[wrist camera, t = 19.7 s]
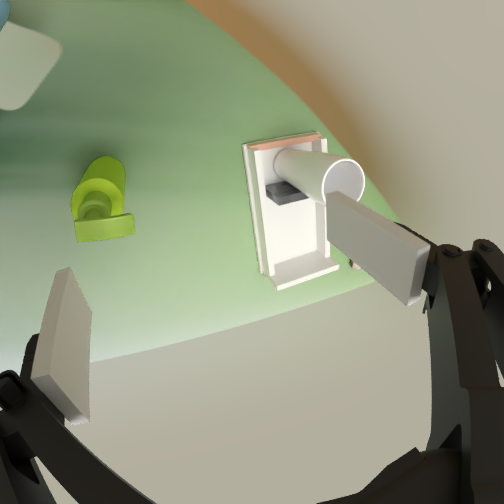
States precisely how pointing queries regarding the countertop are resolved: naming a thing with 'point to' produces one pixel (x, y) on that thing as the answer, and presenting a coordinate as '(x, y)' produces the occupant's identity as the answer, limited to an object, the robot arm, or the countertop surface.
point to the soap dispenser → (101, 202)
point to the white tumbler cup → (320, 173)
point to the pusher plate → (284, 193)
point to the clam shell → (355, 266)
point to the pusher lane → (286, 217)
